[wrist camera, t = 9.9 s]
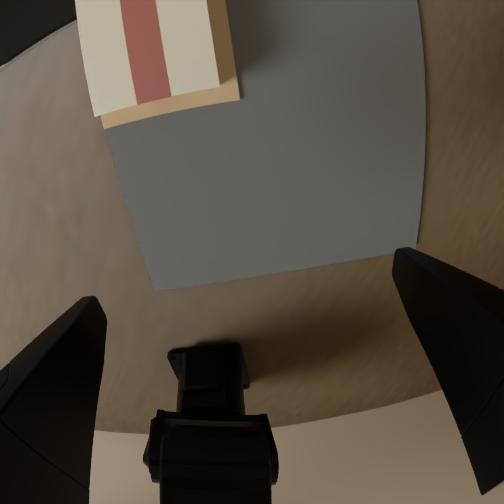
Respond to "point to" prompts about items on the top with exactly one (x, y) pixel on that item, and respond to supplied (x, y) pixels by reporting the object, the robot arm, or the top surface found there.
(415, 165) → the mat
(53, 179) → the top surface
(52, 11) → the smartphone
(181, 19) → the card box
